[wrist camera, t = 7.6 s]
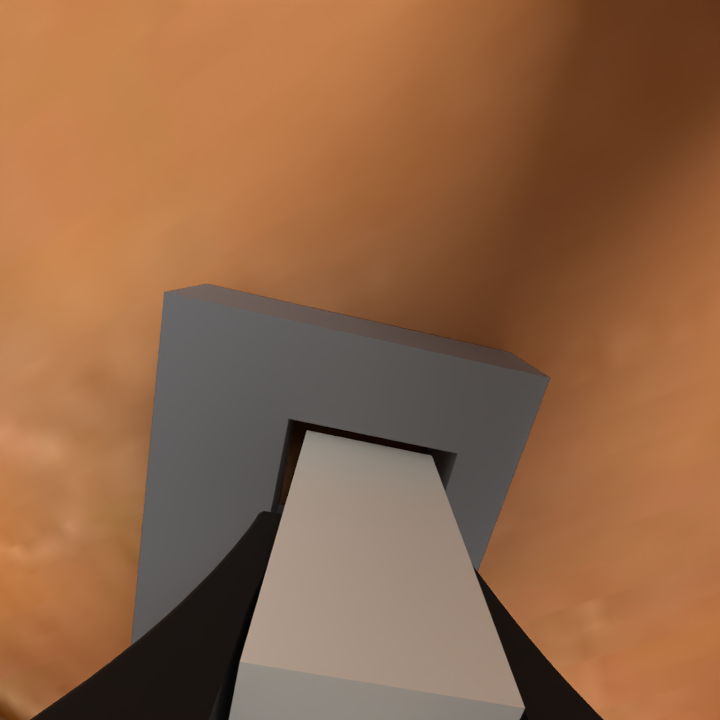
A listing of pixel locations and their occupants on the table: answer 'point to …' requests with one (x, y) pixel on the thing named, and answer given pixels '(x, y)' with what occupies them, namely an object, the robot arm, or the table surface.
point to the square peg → (371, 600)
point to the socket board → (312, 405)
